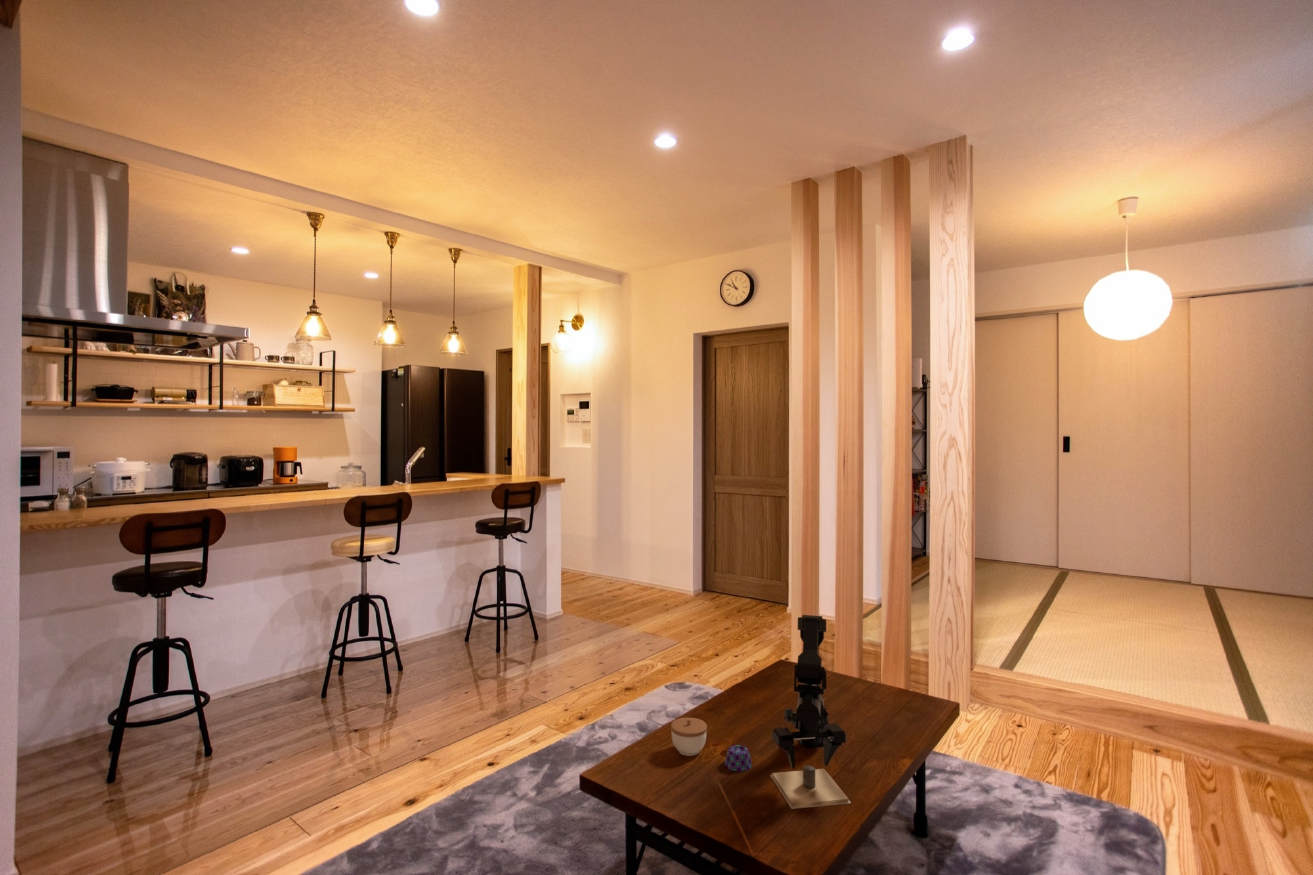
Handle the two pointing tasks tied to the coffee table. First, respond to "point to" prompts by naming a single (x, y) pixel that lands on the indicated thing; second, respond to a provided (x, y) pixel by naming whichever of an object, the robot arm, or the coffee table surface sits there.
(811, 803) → the lid
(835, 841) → the coffee table surface
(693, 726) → the lidded jar
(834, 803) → the mat
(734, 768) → the purple round dome
